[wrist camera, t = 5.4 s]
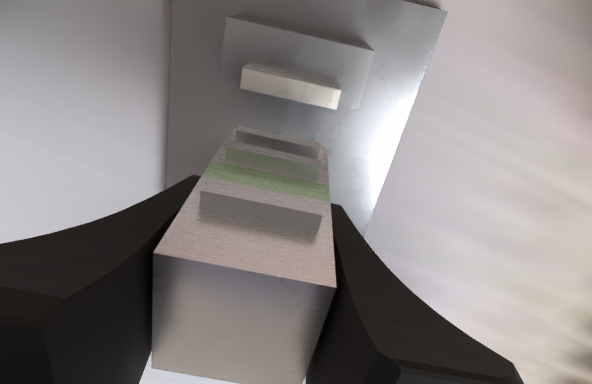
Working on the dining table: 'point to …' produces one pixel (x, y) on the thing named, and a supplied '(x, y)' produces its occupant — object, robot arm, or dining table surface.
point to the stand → (299, 82)
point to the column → (247, 264)
